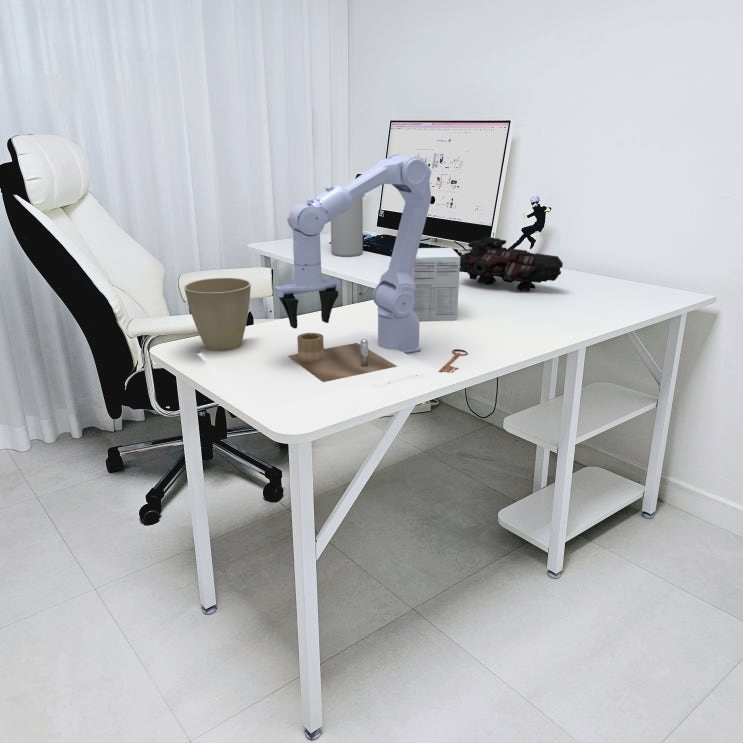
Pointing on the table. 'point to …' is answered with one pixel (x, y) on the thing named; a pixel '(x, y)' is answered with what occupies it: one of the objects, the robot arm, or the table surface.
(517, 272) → the spaceship model
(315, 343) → the bead
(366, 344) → the silver metal cylinder
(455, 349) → the key
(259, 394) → the table surface
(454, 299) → the supplement box
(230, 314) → the plant pot
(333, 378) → the fabric cloth
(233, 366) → the table surface
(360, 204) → the cylinder vase
